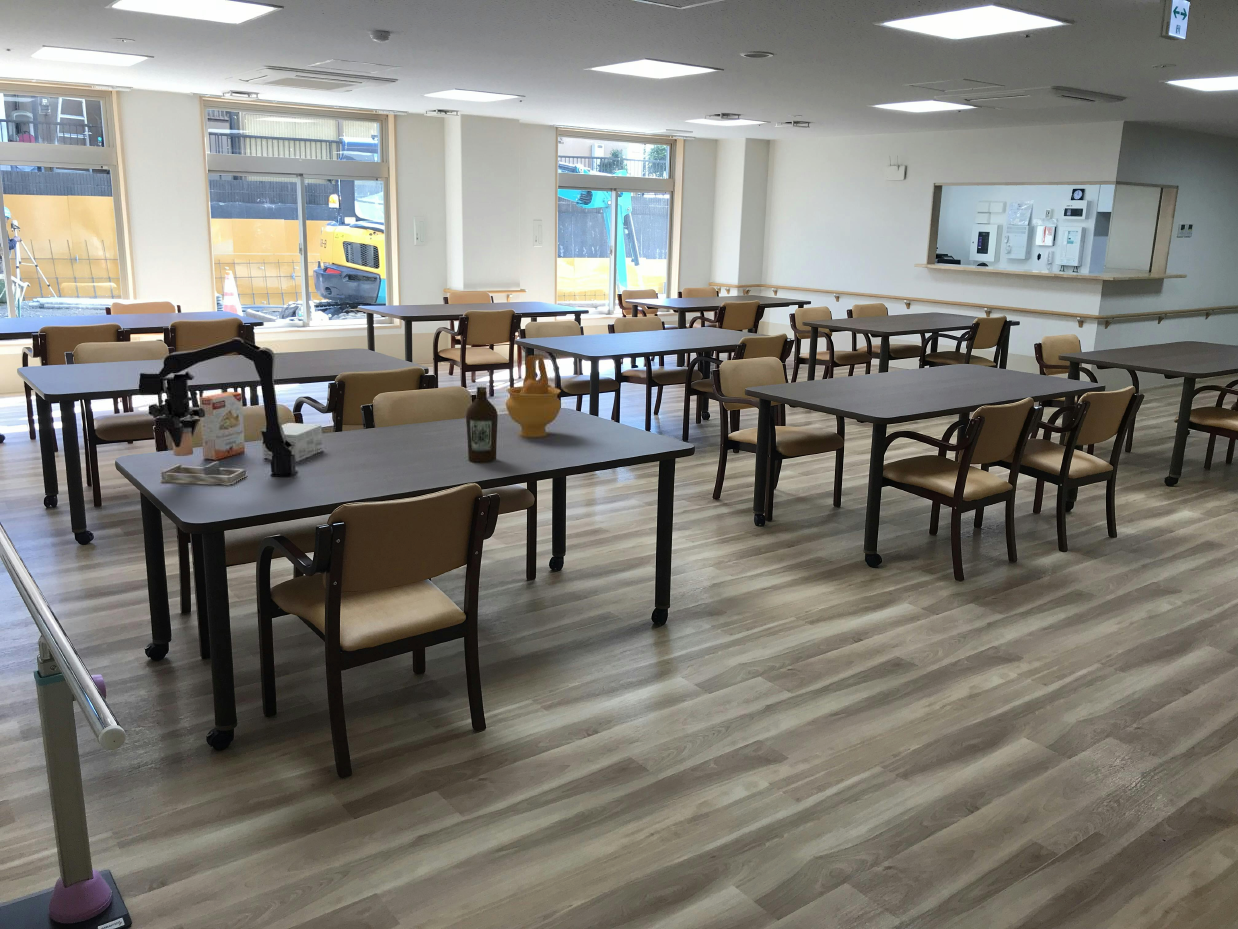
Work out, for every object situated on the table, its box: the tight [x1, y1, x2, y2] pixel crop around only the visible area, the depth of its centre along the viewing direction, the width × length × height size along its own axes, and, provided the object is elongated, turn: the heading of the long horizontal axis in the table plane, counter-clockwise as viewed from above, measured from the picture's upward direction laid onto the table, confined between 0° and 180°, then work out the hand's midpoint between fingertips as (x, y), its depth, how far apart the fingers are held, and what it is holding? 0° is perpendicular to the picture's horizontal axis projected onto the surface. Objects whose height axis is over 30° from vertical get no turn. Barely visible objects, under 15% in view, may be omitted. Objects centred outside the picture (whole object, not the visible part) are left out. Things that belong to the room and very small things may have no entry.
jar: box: [171, 427, 194, 457], centre depth 300 cm, size 6×6×8 cm
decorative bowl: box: [505, 355, 562, 438], centre depth 373 cm, size 21×21×30 cm
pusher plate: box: [203, 461, 220, 475], centre depth 301 cm, size 1×7×4 cm, turn 174°
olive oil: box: [465, 386, 499, 464], centre depth 331 cm, size 11×11×25 cm
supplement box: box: [261, 422, 324, 462], centre depth 334 cm, size 17×13×9 cm
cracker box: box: [198, 391, 246, 461], centre depth 329 cm, size 14×6×21 cm, turn 160°
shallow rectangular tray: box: [160, 463, 248, 486], centre depth 301 cm, size 22×11×3 cm, turn 84°
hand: (182, 445), depth 300 cm, fingers closed on jar, 5 cm apart
